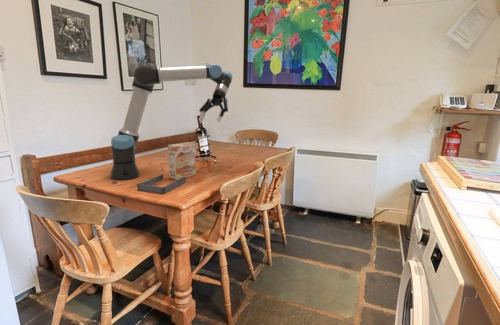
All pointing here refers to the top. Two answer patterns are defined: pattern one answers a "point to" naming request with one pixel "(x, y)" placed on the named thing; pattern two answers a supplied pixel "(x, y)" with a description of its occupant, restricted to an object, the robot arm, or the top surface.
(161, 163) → the top surface
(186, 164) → the coffeecake box
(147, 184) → the dock
